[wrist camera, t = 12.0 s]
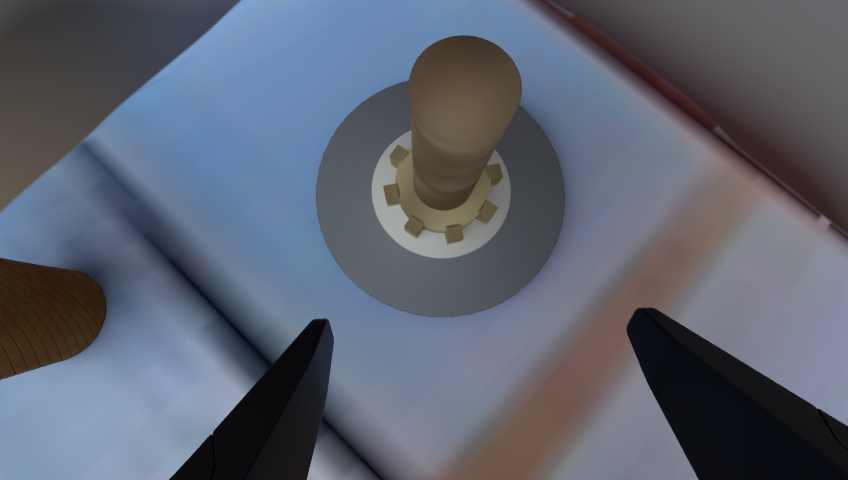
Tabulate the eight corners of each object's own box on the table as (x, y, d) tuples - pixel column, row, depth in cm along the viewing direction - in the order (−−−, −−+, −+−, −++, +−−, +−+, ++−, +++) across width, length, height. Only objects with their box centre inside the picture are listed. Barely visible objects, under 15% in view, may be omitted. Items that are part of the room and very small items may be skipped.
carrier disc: (601, 246, 23) (613, 244, 22) (384, 361, 22) (382, 366, 20) (486, 53, 26) (490, 40, 24) (283, 144, 24) (275, 135, 23)
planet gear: (517, 174, 23) (616, 58, 11) (459, 266, 22) (504, 239, 10) (425, 117, 23) (432, -47, 12) (363, 204, 22) (306, 113, 11)
